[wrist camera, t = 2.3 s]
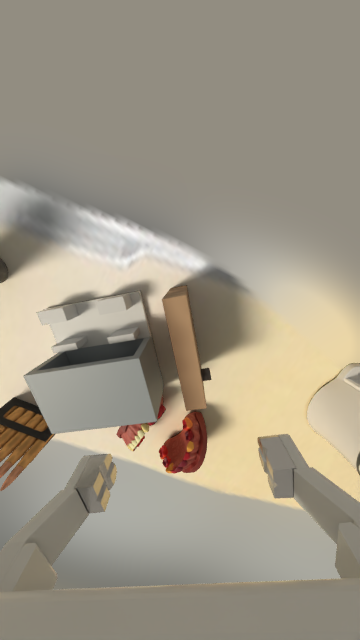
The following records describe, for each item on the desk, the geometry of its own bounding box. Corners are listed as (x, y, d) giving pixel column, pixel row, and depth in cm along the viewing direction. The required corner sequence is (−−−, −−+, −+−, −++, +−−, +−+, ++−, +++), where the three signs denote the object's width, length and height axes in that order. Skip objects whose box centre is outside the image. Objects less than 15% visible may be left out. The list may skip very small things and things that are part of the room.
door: (194, 283, 27) (198, 292, 18) (207, 364, 31) (216, 406, 22) (170, 288, 28) (161, 299, 18) (186, 367, 32) (186, 410, 22)
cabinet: (140, 290, 28) (122, 299, 20) (163, 385, 33) (156, 421, 25) (46, 308, 29) (-3, 322, 22) (82, 396, 34) (51, 434, 26)
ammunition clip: (66, 418, 36) (8, 489, 24) (63, 424, 36) (6, 497, 25) (13, 397, 35) (-72, 460, 23) (12, 404, 35) (-73, 469, 24)
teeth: (130, 416, 25) (217, 460, 27) (144, 380, 33) (211, 417, 35) (101, 458, 28) (181, 495, 30) (119, 416, 36) (182, 448, 38)
